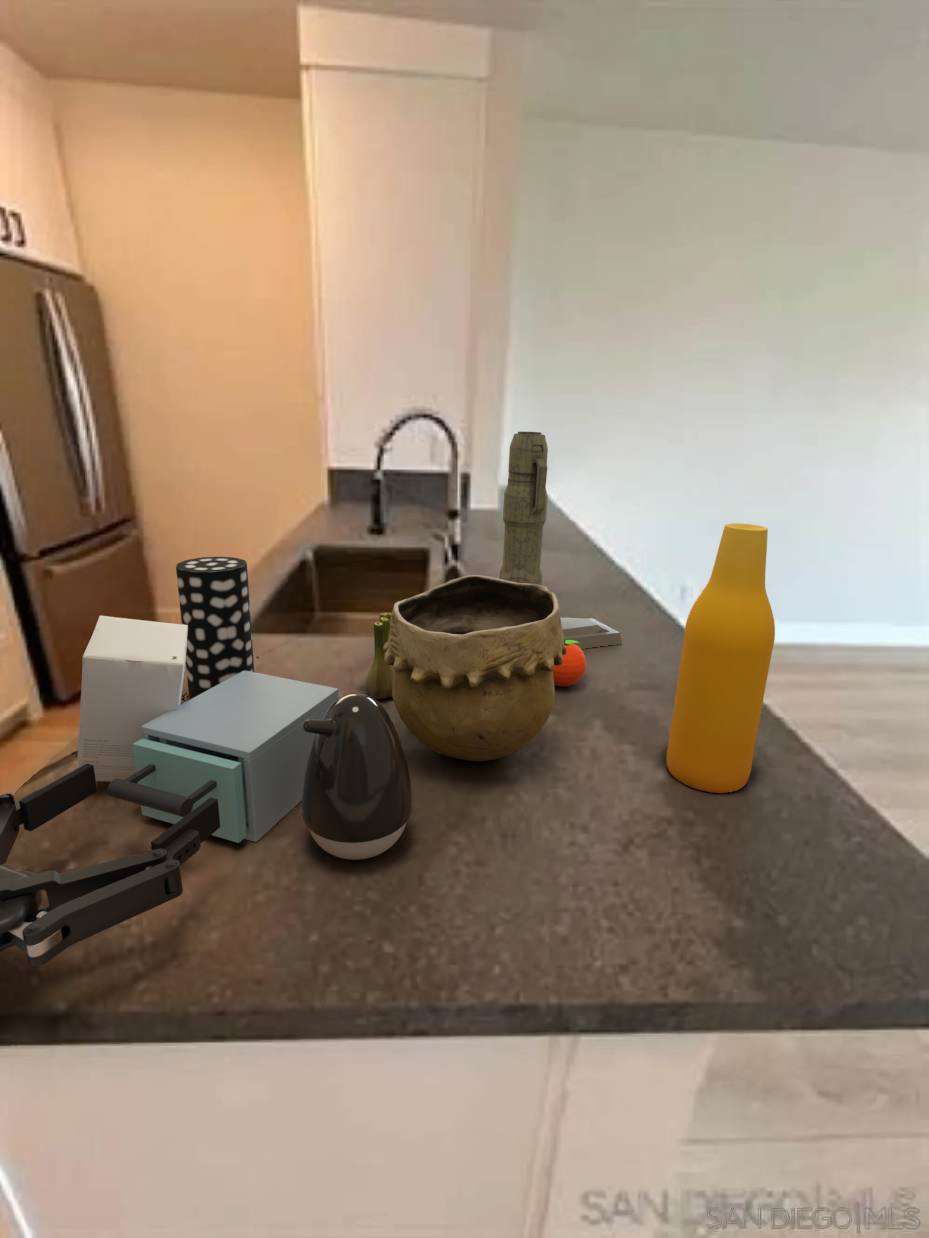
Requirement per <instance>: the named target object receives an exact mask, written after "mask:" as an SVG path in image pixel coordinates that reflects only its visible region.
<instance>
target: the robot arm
mask: <svg viewBox="0 0 929 1238" xmlns="http://www.w3.org/2000/svg"><path fill="white" fill-rule="evenodd" d="M97 786H98V785H97V781H96V779H95V772H94V766H93V765H91V764H85V765H83V766H81V767H80V768H78V769H77V768H76V769H74V770H72V771H71V772H68V773H67V774H65V775H63V776H61V777H60V778H58V779H56V780H54V781H52V782H51V783H49V784H47V785H45V786H43V787H40V788H38V789H36V790H34V791H33V792H31V793H29V794H27V795H25V796H23V797H22V798H20V799H18V800H16V801H15V795H14V794H13V793H11V792H7V793H2V794H0V952H2V951H5V950H7V949H9V948H12V947H14V946H15V947H17V948H18V949H20V950H22V951H23V952H25V954H26V958H27V962H28V966H29V967H33V968H38V967H41V966H43V965H45V964H47V963H48V962H49V961H51V960H53V959H54V958H56V957H57V956H58V955H59V954H61V953H63V952H64V951H65V950H66V949H68V948H70V947H71V946H73V945H75V944H77V943H79V942H81V941H83V940H86V939H88V938H90V937H92V936H95V935H97V934H100V933H101V932H104V931H105V930H108V929H110V928H112V927H115V926H117V925H119V924H121V923H124V922H126V921H128V920H130V919H133V918H134V917H137V916H139V915H141V914H143V913H145V912H148V911H150V910H152V909H154V908H157V907H158V906H161V905H163V904H165V903H167V902H169V901H172V900H174V899H176V898H178V897H180V896H181V895H182V894H183V892H184V888H183V880H182V871H181V866H183V864H185V863H186V862H187V861H188V860H189V859H190V858H192V857H193V856H194V855H195V854H196V853H198V852H199V851H200V849H201V846H202V845H201V844H202V843H203V842H204V841H205V840H207V839H208V838H209V837H210V836H212V835H211V834H213V833H214V832H215V831H216V830H218V829H219V828H220V818H219V807H218V799H215V798H211V797H210V798H209V799H208V800H206V801H205V802H204V803H202V804H201V805H200V806H198V807H197V808H196V809H194V810H193V811H192V812H190V813H189V814H188V815H186V816H185V817H184V818H182V819H181V820H180V821H178V822H177V823H175V824H172V825H171V826H170V827H169V828H167V829H166V830H165V831H163V832H162V833H161V834H159V835H158V836H157V837H156V838H154V839H153V840H152V841H150V848H151V850H146V851H143V852H139V853H136V854H132V855H128V856H125V857H124V856H123V857H120V858H117V859H112V860H109V861H105V862H101V863H97V864H94V865H93V864H92V865H90V866H86V867H82V868H79V869H75V870H70V871H67V872H62V873H60V872H59V871H57V870H54V869H52V870H50V869H49V870H46V871H43V872H39V873H34V872H32V871H29V870H20V869H17V868H16V867H15V866H14V865H12V864H9V863H7V861H8V858H9V856H10V854H11V852H12V849H13V846H14V844H15V842H16V840H17V838H18V835H19V833H20V830H21V825H23V830H25V831H27V832H33V831H35V830H36V829H38V828H40V827H41V826H43V825H45V824H47V823H48V822H49V821H51V820H53V819H55V818H56V817H58V816H59V815H61V814H63V813H64V812H66V811H68V810H69V809H71V808H73V807H74V806H76V805H78V804H80V803H81V802H83V801H85V800H86V799H87V798H89V797H91V796H92V795H94V794H96V793H97V792H98V787H97ZM42 891H45V892H46V897H47V901H48V906H47V907H44V908H41V909H40V907H41V904H42V901H43V894H42Z"/></svg>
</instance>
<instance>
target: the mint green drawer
mask: <svg viewBox="0 0 929 1238" xmlns="http://www.w3.org/2000/svg"><path fill="white" fill-rule="evenodd" d="M159 740H160V743H159V742H155V741H151V740H147V739H140V740H139V741H137V742H135V743H133V749H134V757H135V764H136V773H135V774H133V775H131V776H130V777H128V778H127V779H125V780H122V779H118V778H117V779H114V780H112V781H109V784H108V785H107V790H106V791H107V795H108V796H109V797H112V798H114V799H119V800H123V801H126V802H129V803H132V804H136V805H140V809H141V815H142V816H145V817H147V818H148V817H149V818H152V819H156V820H159V821H162V822H166V823H169V824H172V825H174V824H175V823H177V822H178V821H180V820H181V819H182V818H184V817H185V816H186V815H188V814H189V813H190V812H192V811H193V810H194V809H196V808H197V807H198V806H200V805H201V804H202V803H204V802H205V801H206V800H208V799H209V798H210V797H211V798H215V799H218V807H219V818H220V828H219V829H218V830H216V831H215V832H214V833H213V834H211V835H210V836H213V837H217V838H221V839H224V840H225V841H226V840H227V841H230V842H234V843H237V844H239V843H241V842H242V841H243V840H245V839H244V838H245V837H246V836H247V833H246V823H248V811H247V798H246V785H245V772H244V758H241V757H237V756H233V755H228V754H224V753H220V752H216V751H212V750H208V749H204V748H200V747H196V746H191V745H187V744H183V743H179V742H175V741H171V740H167V739H163V738H159Z"/></svg>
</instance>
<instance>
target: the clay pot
mask: <svg viewBox="0 0 929 1238" xmlns="http://www.w3.org/2000/svg"><path fill="white" fill-rule="evenodd" d="M391 613H392V615H391V620H390V632H389V638H388V642H387V643H386V644H385V645H384V646H383V647H384V651H385V652H386V653H385V663H386V664H387V665H393V667H394V669H395V676H394V680H393V686H392V697H391V698H392V700H393V704H394V706H395V709H396V711H397V713H398V715H399V718H400V719H401V721H402V722H403V724H404V725H405V727H406V729H407V730H408V731H410V733H411V734H412V736H414V737H415V738H416V739H417V740H418V741H419V742H420V743H421V744H423V745H424V746H426V747H427V748H429V749H431V750H432V751H433V752H437V753H439V754H440V755H443V756H446V757H451V758H454V759H458V760H464V761H470V762H487V761H494V760H497V759H498V760H499V759H502V758H505V757H508V756H510V755H512V754H514V753H516V752H519V751H521V750H522V749H523V748H525V747H526V746H527V745H529V744H530V743H531V742H532V741H533V739H534V738H535V737H536V736H537V735H538V734H539V732H540V731H541V730H542V729H543V727H544V726H545V724H546V723H547V721H548V720H549V718H550V716H551V714H552V712H553V708H554V701H555V695H556V691H555V690H556V689H555V685H554V678H553V666H554V665H556V666H558V665H561V664H562V655H565V654H566V652H567V648H566V647H565V645H564V639H563V637H564V634H563V631H562V625H561V618H562V617H561V609H560V604H559V599H558V598H557V595H556V593H554V591H550V590H549V588H548V587H547V586H544V585H542V586H541V585H537V584H529V583H516V582H511V581H506V580H502V579H500V578H497V577H492V576H489V575H480V574H470V575H465V576H461V577H458V578H454V579H450V580H449V581H447V582H445V583H442V584H440V585H436V586H434V587H432V588H430V589H428V590H427V591H423V592H422V593H418V594H416V595H414V596H411V597H409V598H405V599H402V600H399V601H396V602H394V604H393V609H392V612H391Z"/></svg>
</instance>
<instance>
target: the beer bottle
mask: <svg viewBox="0 0 929 1238" xmlns="http://www.w3.org/2000/svg"><path fill="white" fill-rule="evenodd" d="M768 533H769V530H768V527H766V526H763V525H758V524H750V523H739V522H738V523H737V522H736V523H734V522H732V523H725V524H724V527H723V529H722V534H721V538H720V540H719V545H718V548H717V549H718V550H717V551H716V552H717V553H716V555H715V560H714V564H713V568H712V571H711V574H710V577H709V580H708V581H707V583H706V585H705V587H704V588H703V589H702V591H701V593H700V594H699V595H698V597H697V598H696V600H695V601H694V603H693V605H692V607H691V608H690V610H689V613H688V616H687V619H686V622H685V627H684V631H683V641H682V647H681V655H680V662H679V670H678V677H677V682H676V683H677V684H676V691H675V697H674V703H673V712H672V720H671V727H670V733H669V739H668V745H667V750H666V766H667V769H668V771H669V773H670V775H672V776H673V778H674V779H676V780H677V781H678V782H679V783H681V784H684V785H685V786H687V787H689V788H692V789H695V790H698V791H702V792H707V793H713V794H728V792H729V793H734V792H737V791H738V790H741V789H742V788H743V787H744V786H745V785H746V784H747V782H748V780H749V778H750V775H751V772H752V766H753V760H754V751H755V747H756V741H757V736H758V730H759V725H760V720H761V715H762V714H761V713H762V709H763V703H764V699H765V692H766V688H767V682H768V676H769V670H770V666H771V660H772V654H773V650H774V646H775V640H776V639H775V638H776V625H775V618H774V613H773V609H772V607H771V603H770V600H769V597H768V593H767V589H766V568H767V553H768V552H767V551H768ZM733 791H734V792H733Z"/></svg>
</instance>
